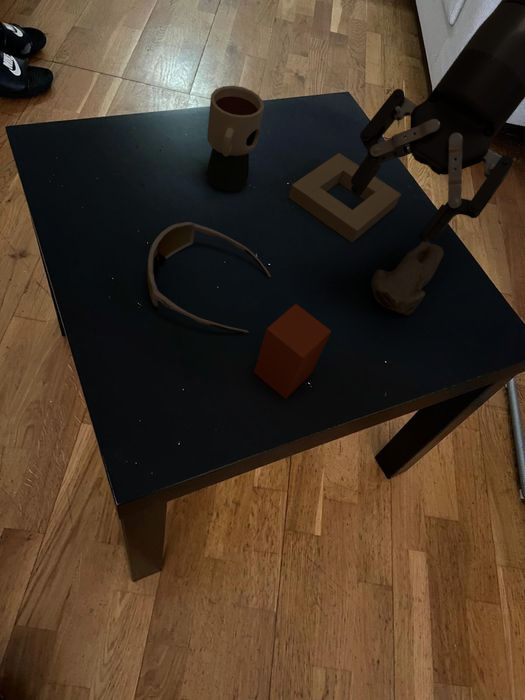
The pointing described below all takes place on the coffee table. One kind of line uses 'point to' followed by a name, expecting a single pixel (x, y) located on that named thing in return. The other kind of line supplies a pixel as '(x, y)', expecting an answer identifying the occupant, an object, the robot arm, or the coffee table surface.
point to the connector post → (290, 350)
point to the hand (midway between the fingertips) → (387, 215)
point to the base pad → (332, 211)
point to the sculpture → (407, 279)
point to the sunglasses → (174, 242)
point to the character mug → (232, 135)
